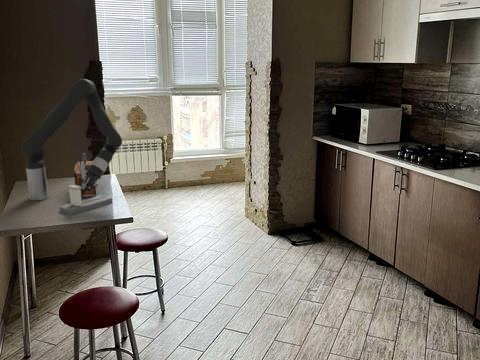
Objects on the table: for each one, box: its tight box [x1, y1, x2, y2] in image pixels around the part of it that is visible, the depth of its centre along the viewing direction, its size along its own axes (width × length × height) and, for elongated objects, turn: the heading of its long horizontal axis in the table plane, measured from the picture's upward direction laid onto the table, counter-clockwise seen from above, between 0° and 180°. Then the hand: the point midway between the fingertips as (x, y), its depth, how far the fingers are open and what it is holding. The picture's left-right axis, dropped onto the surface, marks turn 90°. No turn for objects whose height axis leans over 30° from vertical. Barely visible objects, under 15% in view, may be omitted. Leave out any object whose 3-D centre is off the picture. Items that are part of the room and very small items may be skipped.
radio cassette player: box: [73, 152, 97, 198], centre depth 257 cm, size 29×10×20 cm, turn 17°
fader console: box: [59, 194, 113, 216], centre depth 231 cm, size 24×10×3 cm, turn 142°
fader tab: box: [68, 184, 83, 206], centre depth 225 cm, size 3×6×9 cm, turn 52°
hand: (79, 196), depth 227 cm, fingers closed
